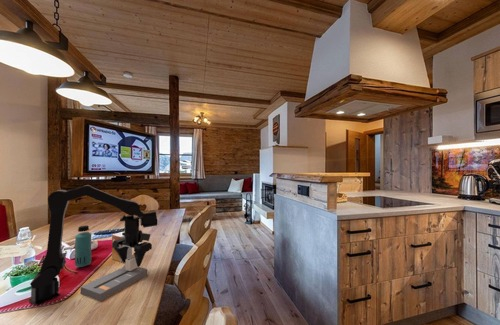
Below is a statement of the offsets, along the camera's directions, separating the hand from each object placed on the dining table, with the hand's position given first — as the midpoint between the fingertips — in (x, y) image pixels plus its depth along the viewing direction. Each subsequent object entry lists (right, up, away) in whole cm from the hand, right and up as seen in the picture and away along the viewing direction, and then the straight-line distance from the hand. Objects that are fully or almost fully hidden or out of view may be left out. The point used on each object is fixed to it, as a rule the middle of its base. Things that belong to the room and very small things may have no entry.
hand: (131, 264), depth 93 cm
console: (-3, -5, -6) cm, 8 cm away
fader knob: (0, -3, 0) cm, 3 cm away
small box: (-15, -6, +17) cm, 24 cm away
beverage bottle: (-28, -6, +8) cm, 30 cm away
